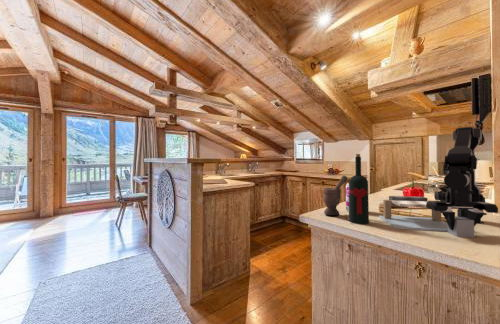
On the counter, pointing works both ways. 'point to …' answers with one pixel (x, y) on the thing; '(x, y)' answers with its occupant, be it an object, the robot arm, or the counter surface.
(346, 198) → the supplement can
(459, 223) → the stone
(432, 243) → the counter surface
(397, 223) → the frame
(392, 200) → the trapdoor
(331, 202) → the mortar and pestle
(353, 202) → the wine bottle
